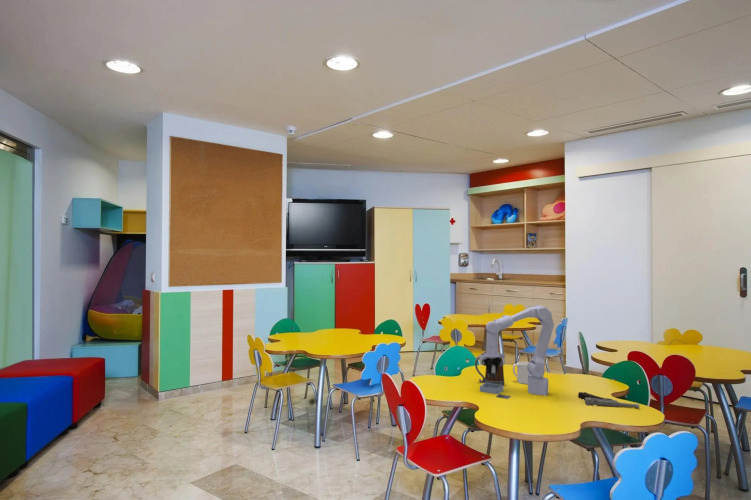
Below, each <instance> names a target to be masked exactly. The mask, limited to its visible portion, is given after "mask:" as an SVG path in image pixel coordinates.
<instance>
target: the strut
mask: <svg viewBox="0 0 751 500" xmlns="http://www.w3.org/2000/svg"><path fill="white" fill-rule="evenodd" d="M495 369H496V365H494V364H492V369H491V374H488V377H490V378H496V374H495Z"/></svg>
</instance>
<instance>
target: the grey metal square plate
mask: <svg viewBox="0 0 751 500" xmlns="http://www.w3.org/2000/svg"><path fill="white" fill-rule="evenodd" d="M495 398H499V399H505V400H509V399H510V398H512V395H508V394H507V395H506V394H501V393H499V394H496V396H495Z"/></svg>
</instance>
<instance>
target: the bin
mask: <svg viewBox="0 0 751 500" xmlns="http://www.w3.org/2000/svg"><path fill="white" fill-rule="evenodd" d="M504 386H505V384H504V385H499V384H493V383H487V382H486V383H485V382H484V383H481V385H480V386H479V392H480V393H481V392H482V393H487V394H494V395H499V394H501V393H502V392H503V391H504V390H505V389H504V388H505V387H504Z"/></svg>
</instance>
